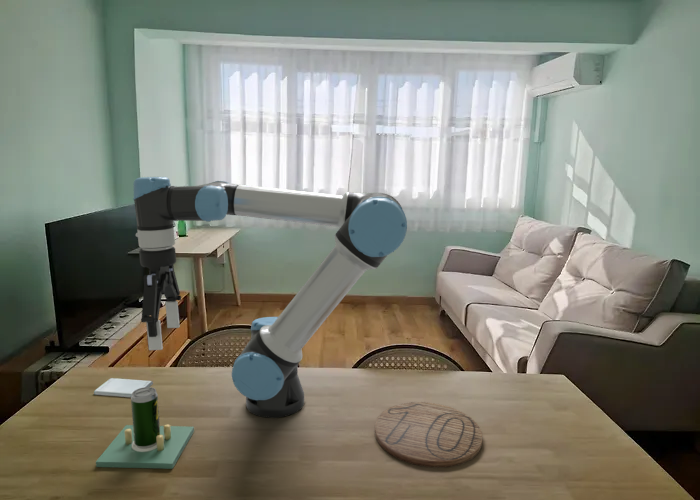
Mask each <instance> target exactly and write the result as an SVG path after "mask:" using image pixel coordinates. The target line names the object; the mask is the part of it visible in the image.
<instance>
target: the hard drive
mask: <svg viewBox="0 0 700 500" xmlns="http://www.w3.org/2000/svg"><path fill="white" fill-rule="evenodd" d="M153 384H154V382H153V380H141V379H128V378H117V377H116V378H115V377H114V378H113V377H111V378H109V379H108V380H107V381H105V382H103V384H101V385H100V386H98V387H97V388H96V389H95V390H94V391H93V395H98V396H106V397H108V396H110V397H122V398H124V397H125V398H131V397H132V393H133V392H134V391H135V390H137V389H140V388H144V387H151V386H152V385H153Z"/></svg>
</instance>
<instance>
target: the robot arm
mask: <svg viewBox="0 0 700 500" xmlns="http://www.w3.org/2000/svg"><path fill="white" fill-rule="evenodd" d="M132 200H133V201H134V209H135V217H136V218H135V219H136V230H137V232H136V233H135V237H137V239H138V240H137V241H138V246H139V248H140V250H139V251H138V254H139V263H140V266H141V267H143V268H147V269H148V274H145V275H143V277H142V279H143V294H142V308H141V319H140V322H141V323H146V333H147V343H148V350H149V351H162V350H163V338H162V337H163V336H162V323H161V320H160V319H159V317H160V316H159V315H160V310H161V303H162V295H163V296H164V298H165V299H166V301H165V302H164V303H165V313H166V326H167V329H178V328H180V313H179V305H178V304H179V302H178V301H182V296H181V292H180V288H179V285H178V280H177V277H176V272H175V267H174V265H175V264H176V263H177V255H176V248H175V247H174V246H175V244H176V241H175V239H176V237H175V229H174V221H175V222H178V221H185V222H186V221H187V222H189V221H192V222H196V221H197V222H211V221H212V222H213V221H214V222H215V221H222V220H224V219H225V218H226V216H228V215H229V216H241V217H249V218H258V219H265V220H274V221H275V220H276V221H284V222H291V223H302V224H307V225H308V224H311V225H318V226H319V225H320V226H326V227H327V226H329V227H335V228H339V229H338V230H337V231H336V233H335V234H334V241H335V242H334V244H335V245H334V247H333V248H332V249H331V250H330V252H329V253H328V254H327V255H326V257H325V258H324V259H323V261H322V262H321V263H320V264H319V265H318V266H317V267H316V269H315V271H313V273H312V274H311V275H310V276H309V278H308V279H307V280H306V282H305V283H304V284H303V285H302V287H300V289H299V291H298V292H297V293H296V294H295V296H294V297H293V298H292V300H291V301H289V303H288V304H287V306H285V308H284V309H283V311H282V312H281V313H280V314H279V315H278V316H266V317H259V318H256V319H254V320H253V321H251V324H250V325H251V327H250V333H251V337H250V339H249V341H248V342H247V344H246V345H245V347H244V348H243V350H242V351H241V353H240V354H239V355H238V356H237V357H236V358H235V360H234V362H233V365H232V369H231V379H232V382H233V385H234V387H235V388H236V389H237V391H238V392H239V393H241V395H243V396H244V397H245V405H246V409H247V411H249V412H250V413H251V414H253V415H255V416H257V417H261V418H274V419H275V418H282V417H283V418H284V417H287V416H290V415H293V414H296V413H297V412H298V411H300V410H301V409H302V408H303V407H304V405H305V392H304V388H303V385H302V383H301V380H300V378H299V374H298V368H299V367H298V364H299V363H300V362H301V360H302V359H303V351H302V350H303V348H304V347H305V345H306V344H307V343H308V342H309V340H310V339H311V338H312V337H313V336H314V335H315V333H317V331H318V329H319V328H320V327H321V326H322V325H323V323H324V322H325V321H326V320H327V319H328V317H329V316H330V315H331V314H332V312H333V311H334V310H335V309H336V307H338V306H339V304H340V303H341V302H342V300H343V299H344V297H346V296H347V294H348V293H349V292H350V291H351V289H352V288H353V287H354V286H355V284H356V283H357V282H358V281H359V280H360V278H362V276H363V275H364V274H365V272H367V271H369V270H375V269H378V267H379V266H380V265H381V264H382V263H383V261H384V260H386V258H387V257H388V256H389V255H391V254H392V253H394V252H395V251H396V250H398V249H399V247H400V246H401V245H402V244H403V242H404V240H405V238H406V234H407V229H408V221H407V217H406V213H405V211H404V210H403V207H402V205H401V204H400V203H399V201H398V200H397V199H396V198H395V197H393V196H392V195H390V194H388V193H383V192H351V191H347V192H346V193H344V194H343V195H338V194H331V193H321V192H311V191H303V190H294V189H293V190H292V189H286V188H285V189H284V188H277V187H276V188H275V187H267V186H257V185H245V184H237V183H230V182H227V181H224V180H223V181H221V180H215V181H213V182H209V183H205V184H199V185H183V186H177V185H171V181H170V178H168V176H144V177H137V178H136V179H134V180H133V198H132Z"/></svg>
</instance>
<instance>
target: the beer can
mask: <svg viewBox="0 0 700 500" xmlns="http://www.w3.org/2000/svg"><path fill="white" fill-rule="evenodd" d="M130 400H131V401H130V402H131V417H132V425H133V431H134V443H135V445H136V446H137V447H138V448H141V449H147V448H151V447H153V446H155V445H157V440H156V437H157V436H158V435H160V426H161V425H160V414H159V412H160V411H159V396H158V392H157V389H156V388H155V387H151V386H150V387H144V388H140V389H137V390H135V391H134V392H133V393H132V397H130Z"/></svg>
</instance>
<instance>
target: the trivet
mask: <svg viewBox="0 0 700 500" xmlns="http://www.w3.org/2000/svg"><path fill="white" fill-rule="evenodd" d="M374 433H375V440H376V442H378V444H379V445H380V447H381V448H382V449H383V450H384V451H386V452H387V454H389V455H390V456H392V457H394V458H397V459H398V460H400V461H401V462H404V463H407V464H412V465H414V466H420V467H426V468H450V467H455V466H461V465H463V464H465V463H467V462H469V461H471V460H474V458H475V457H476V456H478V454H479V453H480V451H481V448H482V447H483V431H482V429H481V428H480V425H479V424H478V423H477V422H476V421H475V420H474V419H473V418H472V417H471V416H470V415H468V414H466V413H464V412H463V411H461V410H458V409H456V408H454V407H451V406H448V405H444V404H439V403H434V402H426V401H421V402H417V401H414V402H413V401H412V402H406V403H400V404H397V405H394V406H391V407H389V408H388V409H385V410H384V411H382V412H381V413H380V414H379V416H378V417H377V418H376V421H375V424H374Z"/></svg>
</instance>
